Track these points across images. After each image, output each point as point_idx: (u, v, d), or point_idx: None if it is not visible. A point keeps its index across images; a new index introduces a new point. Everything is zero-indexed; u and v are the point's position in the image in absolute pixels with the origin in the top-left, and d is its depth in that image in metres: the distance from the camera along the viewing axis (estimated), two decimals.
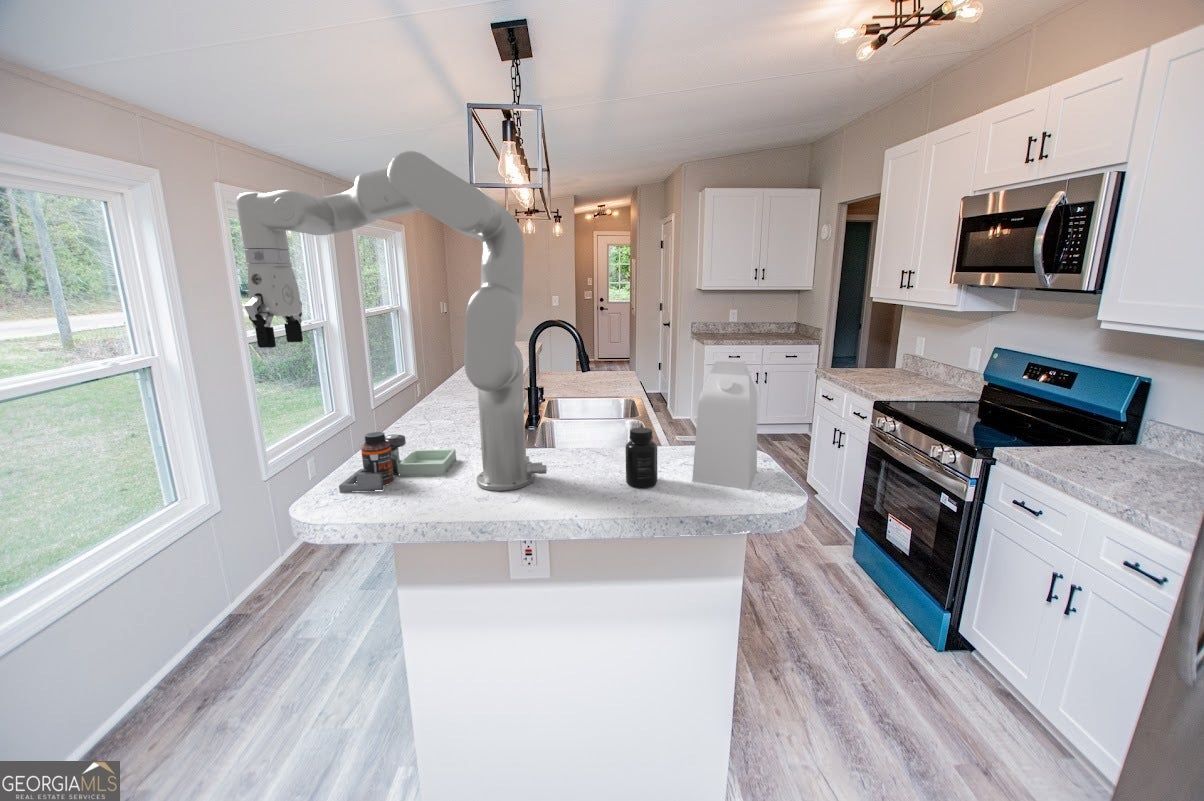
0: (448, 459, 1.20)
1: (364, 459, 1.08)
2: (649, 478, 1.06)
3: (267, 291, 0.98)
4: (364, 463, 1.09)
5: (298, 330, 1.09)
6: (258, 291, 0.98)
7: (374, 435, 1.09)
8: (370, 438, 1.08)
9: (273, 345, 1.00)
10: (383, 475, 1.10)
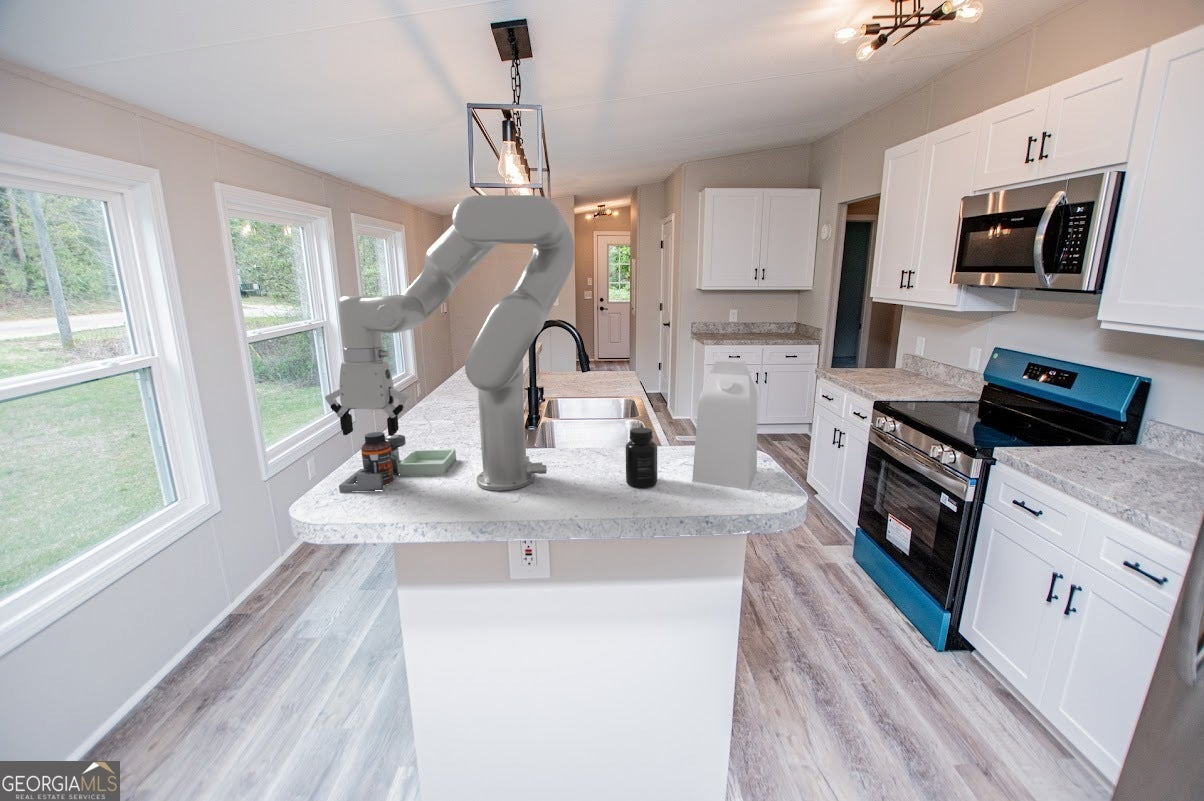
0: (448, 459, 1.20)
1: (364, 459, 1.08)
2: (649, 478, 1.06)
3: (392, 383, 1.09)
4: (364, 463, 1.09)
5: (351, 420, 1.10)
6: (389, 384, 1.07)
7: (374, 435, 1.09)
8: (370, 438, 1.08)
9: (396, 430, 1.11)
10: (383, 475, 1.10)
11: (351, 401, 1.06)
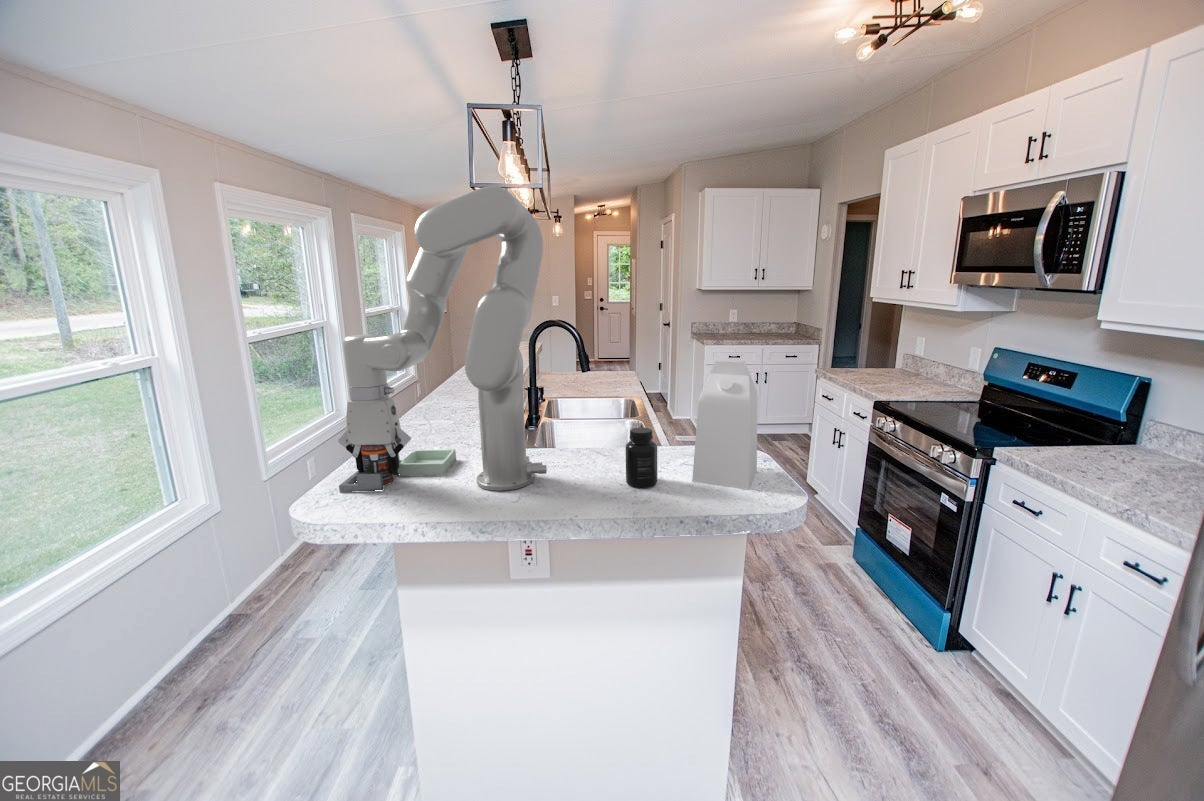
0: (448, 459, 1.20)
1: (364, 459, 1.08)
2: (649, 478, 1.06)
3: (398, 418, 1.11)
4: (364, 463, 1.09)
5: None
6: (395, 420, 1.09)
7: None
8: None
9: (397, 468, 1.13)
10: (383, 475, 1.10)
11: (358, 438, 1.08)
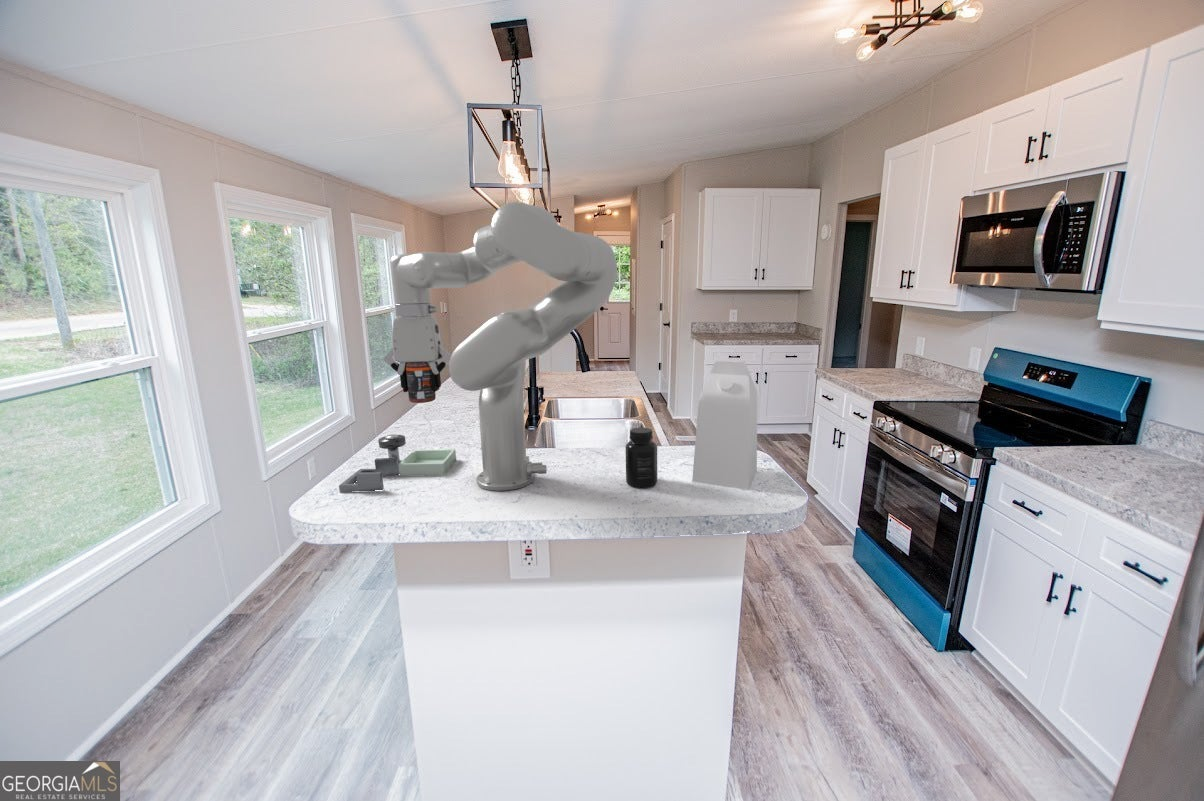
0: (448, 459, 1.20)
1: (409, 375, 1.14)
2: (649, 478, 1.06)
3: (440, 338, 1.16)
4: (409, 379, 1.14)
5: None
6: (438, 339, 1.14)
7: None
8: None
9: None
10: (427, 391, 1.15)
11: (404, 355, 1.13)
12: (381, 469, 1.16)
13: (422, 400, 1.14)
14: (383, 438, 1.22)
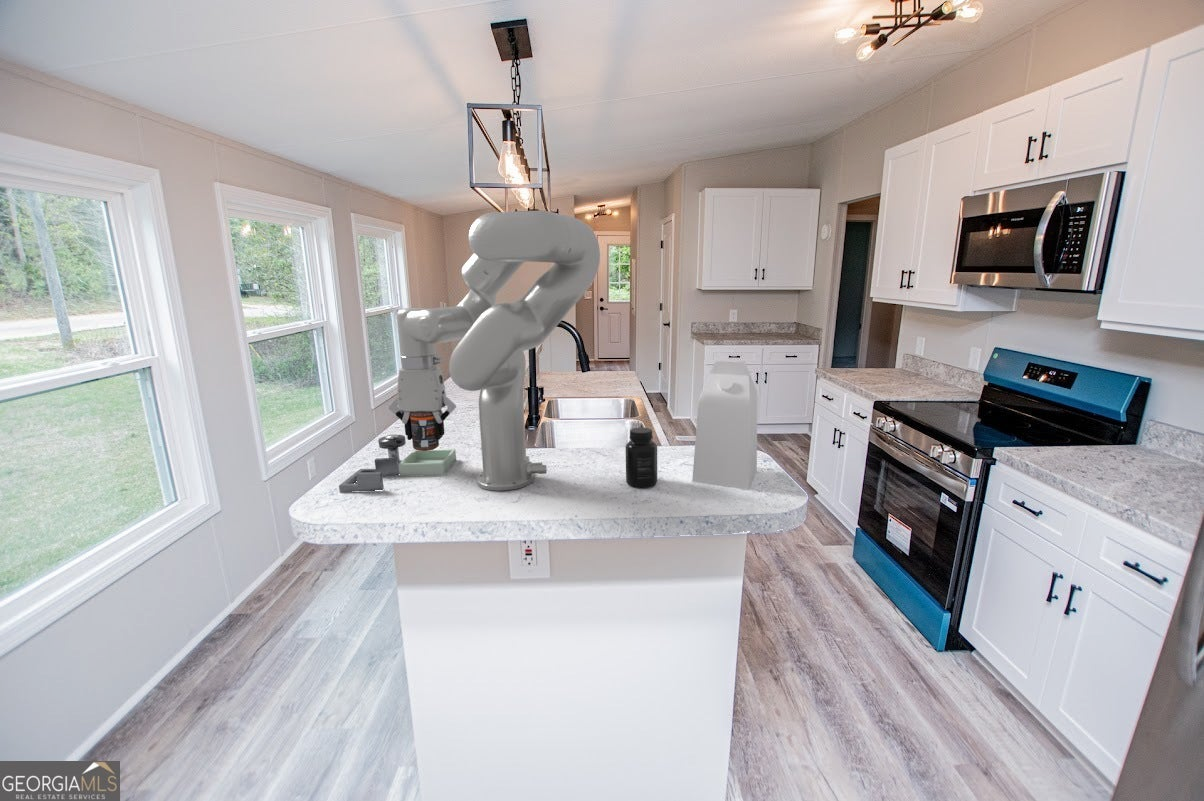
0: (448, 459, 1.20)
1: (413, 424, 1.16)
2: (649, 478, 1.06)
3: (444, 387, 1.19)
4: (413, 428, 1.17)
5: None
6: (442, 389, 1.17)
7: None
8: None
9: (442, 434, 1.21)
10: (430, 440, 1.17)
11: (408, 405, 1.15)
12: (381, 469, 1.16)
13: (426, 448, 1.17)
14: (383, 438, 1.22)
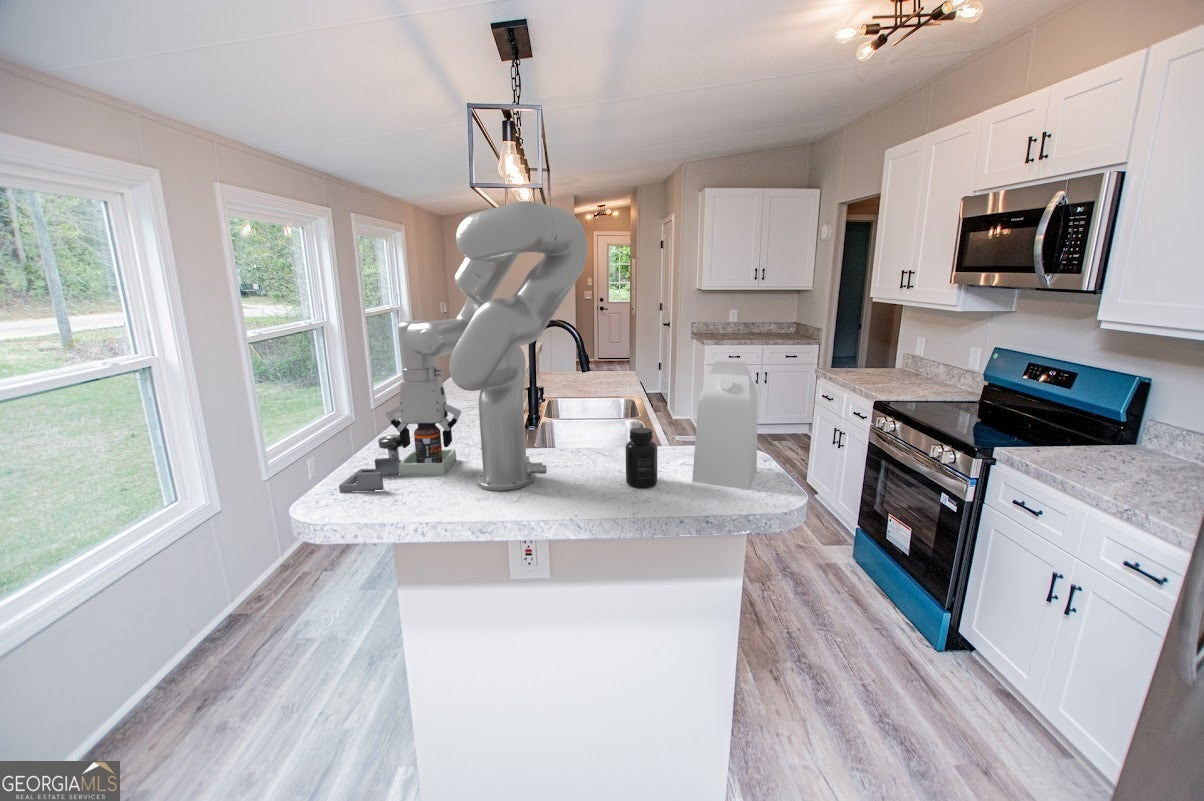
0: (448, 459, 1.20)
1: (417, 443, 1.17)
2: (649, 478, 1.06)
3: None
4: (417, 446, 1.17)
5: (409, 434, 1.21)
6: (444, 400, 1.18)
7: None
8: (423, 423, 1.17)
9: None
10: (434, 458, 1.18)
11: (410, 417, 1.16)
12: (381, 469, 1.16)
13: None
14: (383, 438, 1.22)
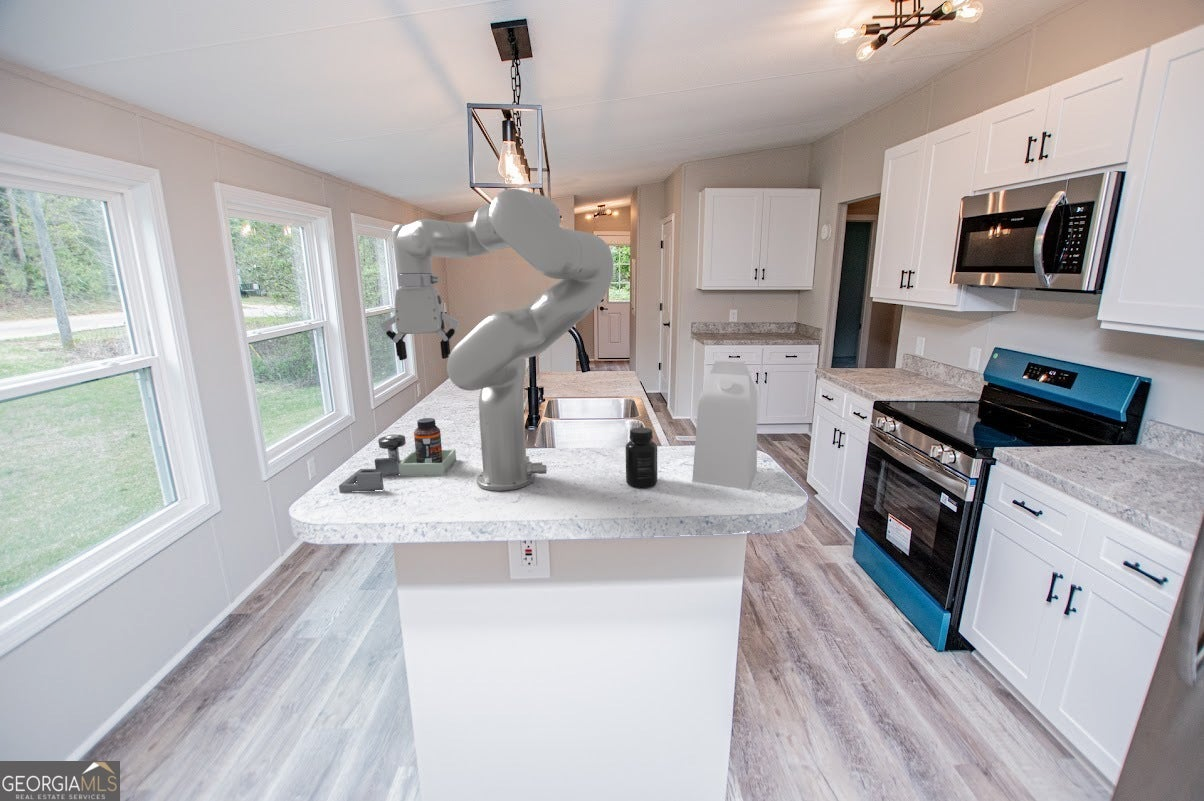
0: (448, 459, 1.20)
1: (417, 443, 1.17)
2: (649, 478, 1.06)
3: None
4: (417, 446, 1.17)
5: (405, 347, 1.17)
6: (441, 310, 1.14)
7: (426, 421, 1.17)
8: (423, 423, 1.17)
9: None
10: (434, 458, 1.18)
11: (406, 326, 1.12)
12: (381, 469, 1.16)
13: None
14: (383, 438, 1.22)
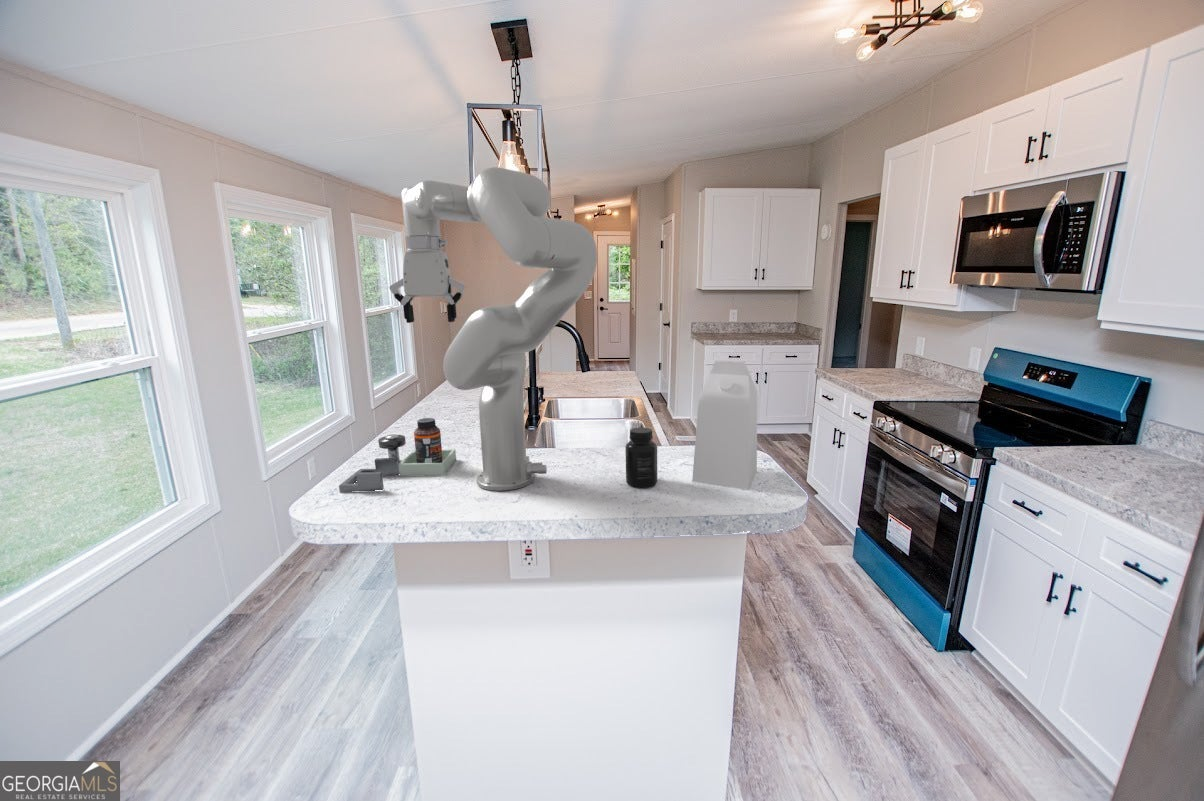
0: (448, 459, 1.20)
1: (417, 443, 1.17)
2: (649, 478, 1.06)
3: (450, 274, 1.18)
4: (417, 446, 1.17)
5: (412, 311, 1.19)
6: (448, 273, 1.16)
7: (426, 421, 1.17)
8: (423, 423, 1.17)
9: (454, 319, 1.20)
10: (434, 458, 1.18)
11: (414, 288, 1.14)
12: (381, 469, 1.16)
13: None
14: (383, 438, 1.22)
